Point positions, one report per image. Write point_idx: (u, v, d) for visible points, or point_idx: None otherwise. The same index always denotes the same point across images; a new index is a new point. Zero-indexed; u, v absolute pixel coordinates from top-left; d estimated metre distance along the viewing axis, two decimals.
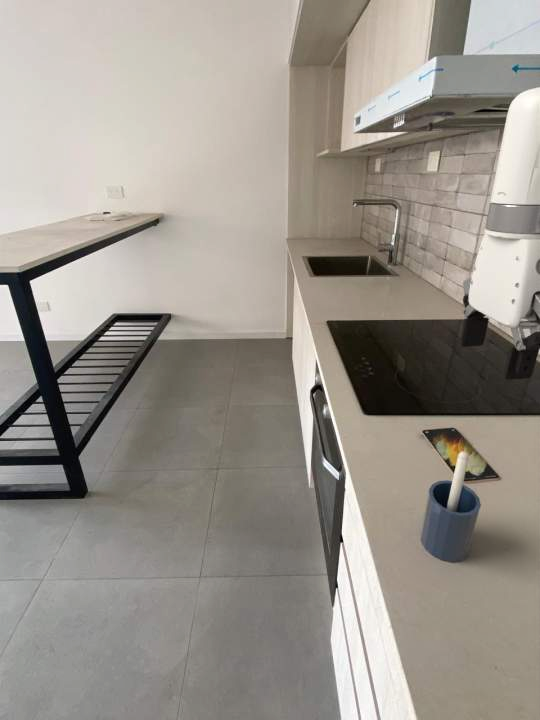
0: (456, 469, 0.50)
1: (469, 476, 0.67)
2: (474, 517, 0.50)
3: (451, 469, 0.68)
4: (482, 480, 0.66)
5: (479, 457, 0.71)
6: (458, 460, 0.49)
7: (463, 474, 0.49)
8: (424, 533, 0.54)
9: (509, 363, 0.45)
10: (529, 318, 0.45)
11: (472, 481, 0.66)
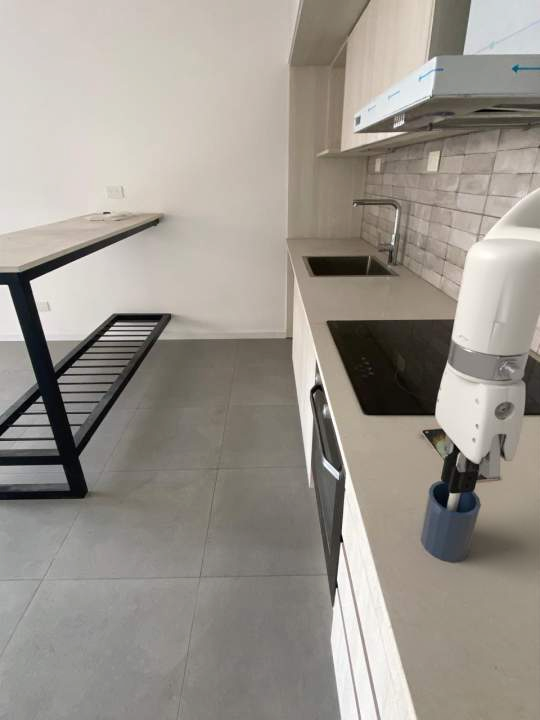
0: None
1: None
2: (474, 517, 0.50)
3: None
4: (482, 480, 0.66)
5: None
6: None
7: None
8: (424, 533, 0.54)
9: (452, 480, 0.49)
10: None
11: None
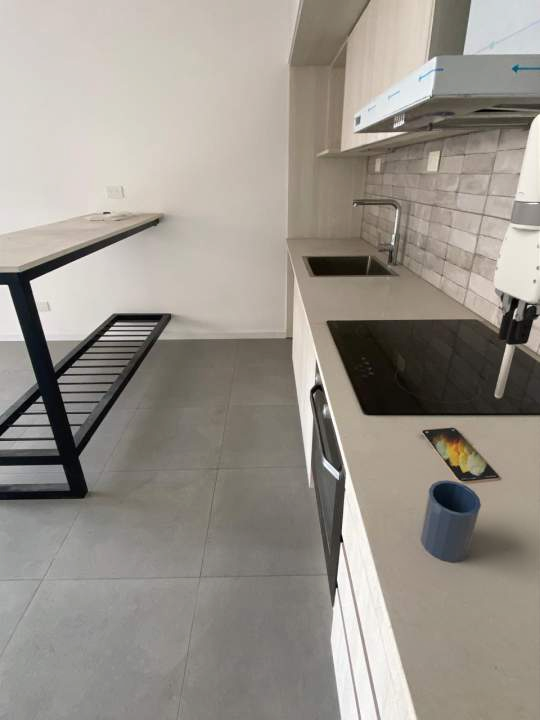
0: None
1: (469, 476, 0.67)
2: (474, 517, 0.50)
3: (451, 469, 0.68)
4: (482, 480, 0.66)
5: (479, 457, 0.71)
6: None
7: None
8: (424, 533, 0.54)
9: (510, 331, 0.59)
10: None
11: (472, 481, 0.66)
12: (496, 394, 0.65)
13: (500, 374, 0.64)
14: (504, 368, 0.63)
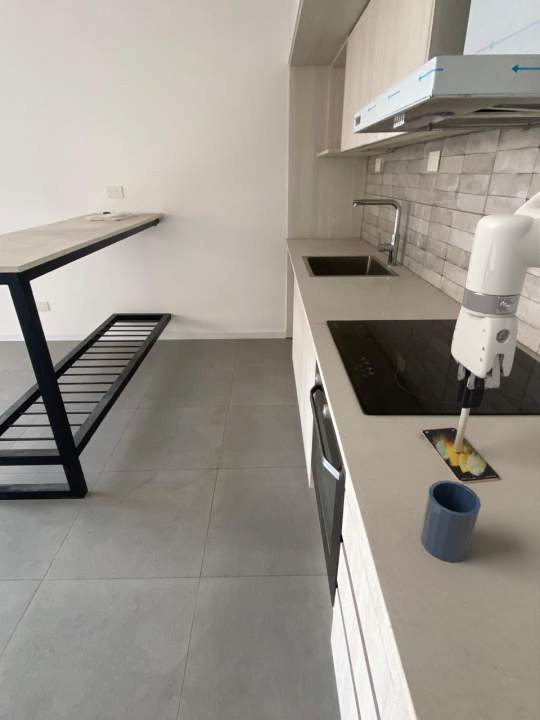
0: None
1: (469, 476, 0.67)
2: (474, 517, 0.50)
3: (451, 469, 0.68)
4: (482, 480, 0.66)
5: (479, 457, 0.71)
6: None
7: None
8: (424, 533, 0.54)
9: (464, 397, 0.66)
10: None
11: (472, 481, 0.66)
12: (455, 449, 0.72)
13: (458, 432, 0.70)
14: (461, 427, 0.69)
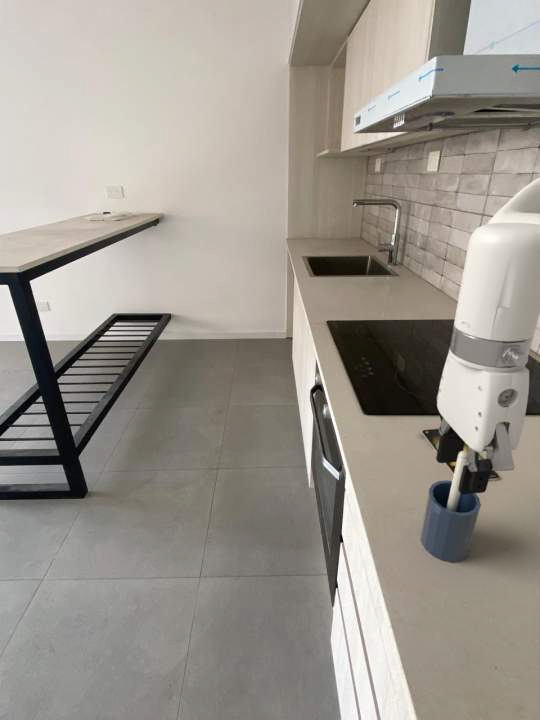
0: (456, 469, 0.50)
1: None
2: (474, 517, 0.50)
3: (451, 469, 0.68)
4: None
5: (479, 457, 0.71)
6: (458, 459, 0.49)
7: None
8: (424, 533, 0.54)
9: (463, 480, 0.46)
10: None
11: None
12: None
13: None
14: None
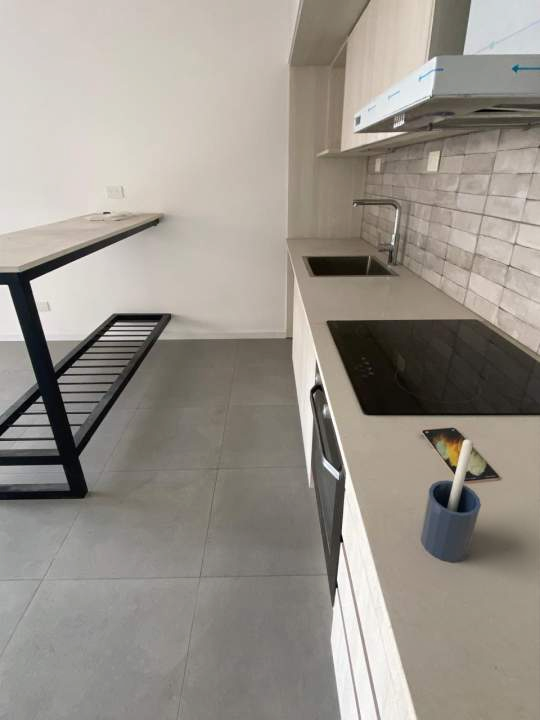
0: (460, 457, 0.52)
1: (469, 476, 0.67)
2: (474, 517, 0.50)
3: (451, 469, 0.68)
4: (482, 480, 0.66)
5: (479, 457, 0.71)
6: (462, 447, 0.52)
7: (467, 462, 0.52)
8: (424, 533, 0.54)
9: None
10: None
11: (472, 481, 0.66)
12: None
13: None
14: (451, 508, 0.54)
